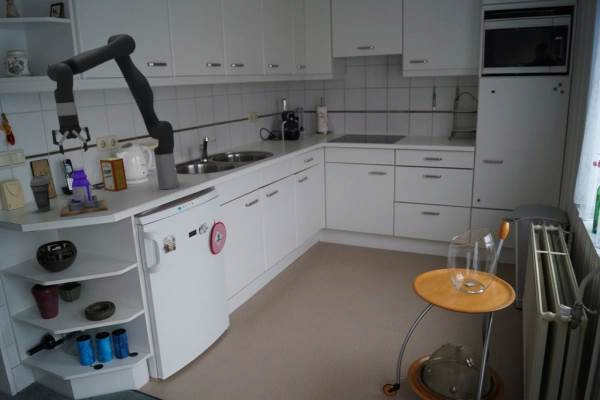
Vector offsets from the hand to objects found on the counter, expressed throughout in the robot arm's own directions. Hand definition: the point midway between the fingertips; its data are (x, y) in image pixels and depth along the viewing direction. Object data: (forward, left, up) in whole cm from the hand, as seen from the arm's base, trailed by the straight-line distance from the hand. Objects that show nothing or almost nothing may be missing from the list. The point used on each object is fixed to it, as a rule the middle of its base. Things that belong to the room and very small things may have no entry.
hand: (74, 153), depth 201 cm
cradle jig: (0, 0, -24) cm, 24 cm away
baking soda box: (-15, -35, -25) cm, 45 cm away
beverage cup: (+16, -9, -25) cm, 31 cm away
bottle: (0, 0, -23) cm, 23 cm away
